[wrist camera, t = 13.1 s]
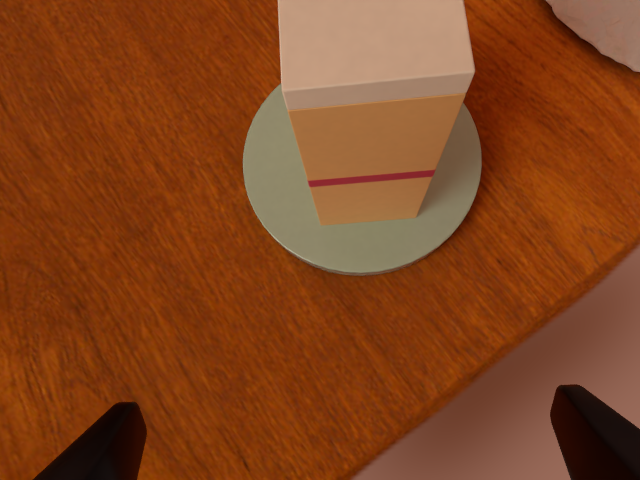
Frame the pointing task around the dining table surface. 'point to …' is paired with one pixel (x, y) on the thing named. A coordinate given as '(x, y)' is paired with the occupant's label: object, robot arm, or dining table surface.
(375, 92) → the cake slice
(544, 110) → the dining table surface
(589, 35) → the stone
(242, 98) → the dining table surface
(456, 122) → the plate
